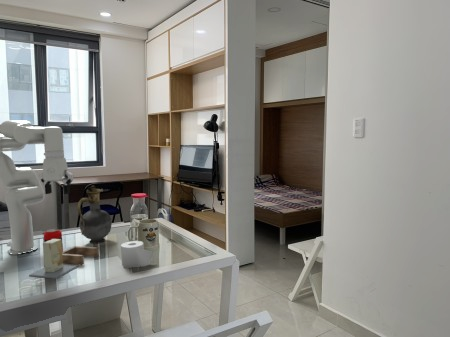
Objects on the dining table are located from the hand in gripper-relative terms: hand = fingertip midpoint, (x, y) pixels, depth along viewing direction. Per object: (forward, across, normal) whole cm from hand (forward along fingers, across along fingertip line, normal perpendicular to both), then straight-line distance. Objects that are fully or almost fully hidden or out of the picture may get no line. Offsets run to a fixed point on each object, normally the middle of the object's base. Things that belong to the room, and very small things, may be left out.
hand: (57, 193), depth 156 cm
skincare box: (+30, +6, -12) cm, 33 cm away
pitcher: (+31, -2, +26) cm, 40 cm away
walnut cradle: (+30, +7, +2) cm, 31 cm away
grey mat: (+30, +6, -12) cm, 33 cm away
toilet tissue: (+31, +36, +2) cm, 47 cm away
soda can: (+31, -9, +5) cm, 32 cm away
